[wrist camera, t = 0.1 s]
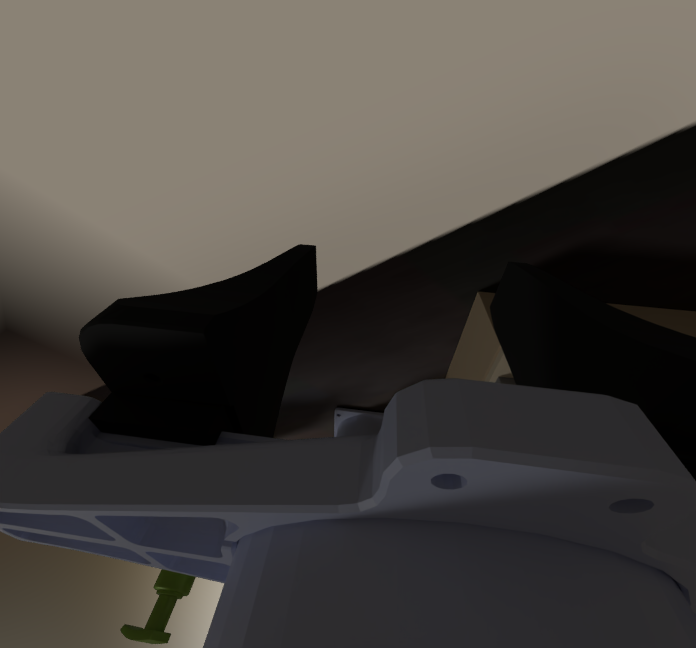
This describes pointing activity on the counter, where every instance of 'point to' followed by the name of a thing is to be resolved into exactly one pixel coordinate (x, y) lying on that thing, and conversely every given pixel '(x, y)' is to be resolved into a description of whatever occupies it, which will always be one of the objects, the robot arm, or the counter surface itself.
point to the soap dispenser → (161, 608)
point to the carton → (484, 345)
